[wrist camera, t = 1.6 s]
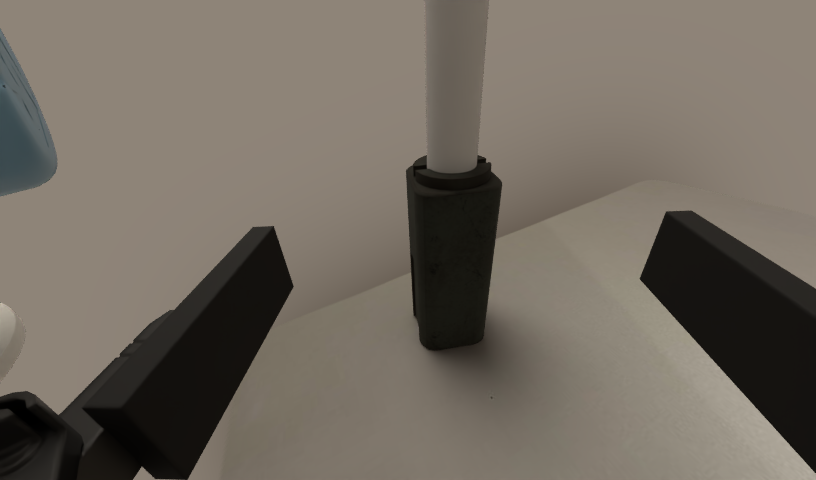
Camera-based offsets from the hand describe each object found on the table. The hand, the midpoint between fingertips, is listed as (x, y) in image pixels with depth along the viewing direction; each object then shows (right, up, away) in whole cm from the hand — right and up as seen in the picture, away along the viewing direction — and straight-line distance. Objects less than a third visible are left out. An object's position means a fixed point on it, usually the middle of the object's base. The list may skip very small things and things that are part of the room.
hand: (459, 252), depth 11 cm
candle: (+1, -6, +15) cm, 16 cm away
